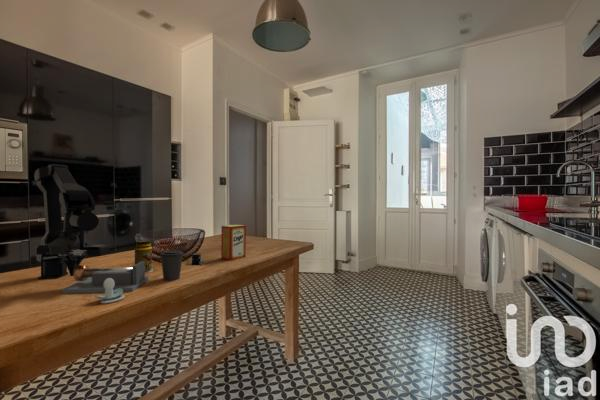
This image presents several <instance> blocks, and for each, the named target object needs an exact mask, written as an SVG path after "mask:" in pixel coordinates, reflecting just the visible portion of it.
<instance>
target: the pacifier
mask: <svg viewBox="0 0 600 400" xmlns="http://www.w3.org/2000/svg"><path fill="white" fill-rule="evenodd" d="M114 285H115V282H114V280H113V279H112V278H107V279H106V280H105V281H104V283H103V286H104V288H105V292H104V295H94V296H93V297H95V298H97V299H101V301H100V303H101V304H112V303H116V302H119V301H122V300H123V299H125V298H126V295H124V294H123V293H124V292H123V289H122V288H118V289H115V290H113V287H114Z"/></svg>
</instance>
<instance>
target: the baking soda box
mask: <svg viewBox="0 0 600 400" xmlns="http://www.w3.org/2000/svg"><path fill="white" fill-rule="evenodd" d="M246 227H247V225H245V224H244V225H243V224H226V225H221V240H220V241H221V246H220V247H221V252H220V253H221V255H220V256H221V258H220V259H222V260H226V261H235V260H238V258H239V259H242V257H244V258H246V250H247V249H246V243H247V242H246V240H247V239H246V236H247V235H246V234H247V233H246V232H247V231H246V230H247V228H246ZM234 259H235V260H234Z"/></svg>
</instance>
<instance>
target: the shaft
mask: <svg viewBox="0 0 600 400" xmlns="http://www.w3.org/2000/svg"><path fill="white" fill-rule="evenodd" d="M101 272H132V267H131V266H130V267H129V266H127V267H122V266H121V267H90V266H89V265H88V264H80V265H78V266H77V267H76V269H75V271H74V276H73V278H74V281H75V282H79V281H85V280H87V279H88V278H92V274H93V273H101Z"/></svg>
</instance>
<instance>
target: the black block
mask: <svg viewBox="0 0 600 400" xmlns="http://www.w3.org/2000/svg"><path fill="white" fill-rule="evenodd" d="M201 259H202V256H201V252H198V253H197V252H196V253H195V252H194V253H192V255H191V261H190V262H189V263H188V265H187V266H201V265H202V264H203V263H204V262H205V260H201Z"/></svg>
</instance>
